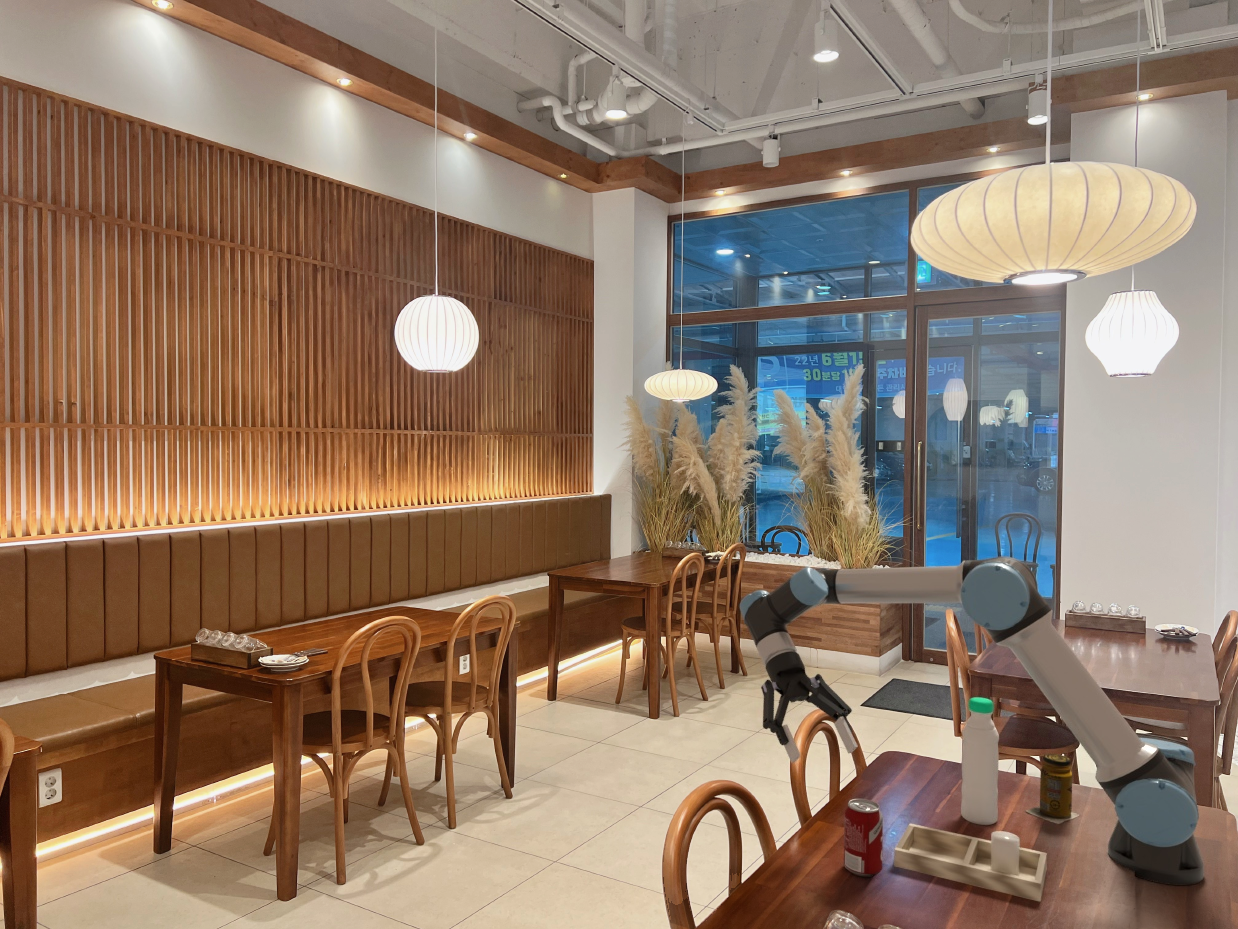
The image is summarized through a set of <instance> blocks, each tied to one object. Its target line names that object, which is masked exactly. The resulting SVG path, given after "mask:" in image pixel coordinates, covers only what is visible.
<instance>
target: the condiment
mask: <svg viewBox="0 0 1238 929" xmlns="http://www.w3.org/2000/svg"><path fill="white" fill-rule="evenodd" d="M1071 763H1072V762H1071V758H1069V757H1067V756H1065V755H1064V754H1063V755H1062V754H1057V753H1046V754H1044V755H1042V764H1041V765H1042V766H1041V768H1040V777H1039V778H1040V779H1039V782H1040V784H1039V787H1040V788H1039V806H1035V807H1033V808H1030V809H1026V810H1025V812H1026V813H1028V814H1031V815H1032V816H1036V817H1038V818H1041V819H1043V820H1044V821H1048V822H1051V823H1053V824H1056V825H1059V824H1063V823H1064V822H1066V821H1070V820H1072V819H1075V818H1078V817H1079V816H1080V815H1081V814H1078V813H1076V812H1073V810H1072V808H1073V806H1072V805H1073V803H1072V802H1073V800H1072V799H1073V797H1072V796H1073V772H1072V771H1071V769H1072V768H1071V767H1072V766H1071Z"/></svg>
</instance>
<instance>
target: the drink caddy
mask: <svg viewBox="0 0 1238 929" xmlns="http://www.w3.org/2000/svg"><path fill="white" fill-rule="evenodd" d="M1047 863H1048V853H1047V852H1044V851H1039V850H1034V849H1030V848H1025V847H1020V846H1019V876H1017V875H1012V874H1008V873H1004V872H999V871H995V870H991V840H989V839H983V838H980V837H975V836H970V835H966V834H960V833H955V832H951V831H947V830H943V829H938V828H934V827H933V828H932V827H929V826H923V825H919V824H914V823H909V824H908V826H907V828H905V831H904V832H903V834H902V836H901V837H900V839H899V841H898V842H897V844H896V846H895V848H894V862H893V866H894V867H896V868H900V869H905V870H909V871H913V872H916V873H921V874H925V875H929V876H934V877H937V878H941V879H946V880H950V881H954V882H958V883H960V884H961V883H962V884H966V885H970V886H974V887H979V888H981V889H986V890H989V891H994V892H995V891H996V892H999V893H1003V894H1008V895H1011V896H1015V897H1020V898H1023V899H1027V900H1032V901H1036V902H1039V903H1040V902H1042V901H1041V900H1042V896H1043V891H1044V886H1045V881H1046V874H1047V870H1048V869H1047V867H1048V866H1047V865H1048V864H1047Z"/></svg>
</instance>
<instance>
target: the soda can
mask: <svg viewBox="0 0 1238 929" xmlns="http://www.w3.org/2000/svg"><path fill="white" fill-rule="evenodd" d="M847 805H848V806H847V808H845V811H844V815H843V816H844V817H843V818H844V830H843V831H844V834H843V848H844V849H843V866H844V867H845V869H846V870H848V871H849V872H850V873H852V874H853V875H856V876H858V877H865V878H871V877H874V876H875V875H876V874H878V873H880V872H882V870H883V859H884V858H883V854H884V853H883V851H884V849H883V847H884V846H883V843H884V816H883V814H882V812H881V811H880V809H881V808H880V804H878V802H875V801H873V800H870V799H865V798H854V799H850V800H849V801H848V803H847Z"/></svg>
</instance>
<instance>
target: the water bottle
mask: <svg viewBox="0 0 1238 929" xmlns="http://www.w3.org/2000/svg"><path fill="white" fill-rule="evenodd" d="M968 711H969V712H970V717H969V718H968V719H967V720H966V723H965V725H964V727H963V729H962V738H963V740H962V748H961V750H962V751H961V753H962V754H961V774H962V775H961V777H962V783H961V789H960V790H961V792H960V793H961V805H960V815H961V816H962V818H963V819H964V820H965V821H967V822H969V823H971V824H975V825H981V826H989V825H993V824H995V823H997V821H998V818H999V817H998V816H999V813H998V812H999V811H998V810H999V809H998V799H999V792H998V791H999V790H998V781H999V780H998V779H999V745H998V744H999V741H1000V735H999V732H998V730H997V728H996V726H995V722H994V720H992V714H994V713H993V712H994V702H993V701H992V700H991V699H989V698H985V697H979V696H978V697H971V698H970V699H968Z"/></svg>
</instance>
